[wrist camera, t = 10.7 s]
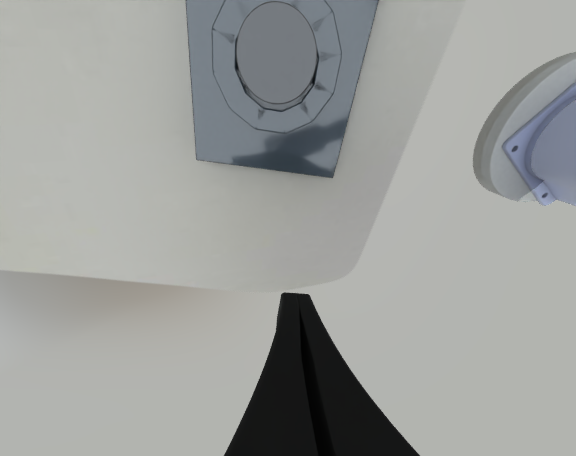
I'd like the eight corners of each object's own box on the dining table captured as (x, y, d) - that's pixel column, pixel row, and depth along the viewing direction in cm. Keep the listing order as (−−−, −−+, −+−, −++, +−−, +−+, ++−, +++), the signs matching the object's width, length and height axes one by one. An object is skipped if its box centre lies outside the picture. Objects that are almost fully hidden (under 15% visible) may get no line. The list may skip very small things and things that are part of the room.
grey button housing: (192, -91, 11) (152, -182, 7) (378, -42, 12) (420, -101, 8) (204, 154, 17) (185, 167, 13) (327, 171, 18) (339, 187, 14)
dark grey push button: (243, 10, 10) (236, -10, 8) (317, 26, 10) (326, 10, 9) (241, 98, 12) (234, 97, 10) (304, 109, 12) (308, 110, 11)
